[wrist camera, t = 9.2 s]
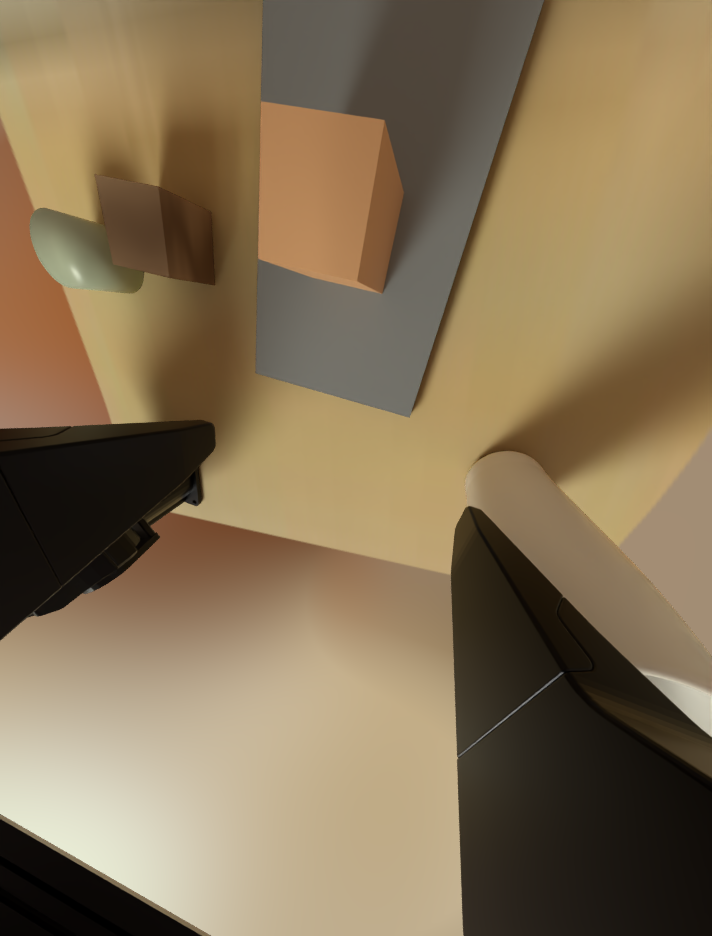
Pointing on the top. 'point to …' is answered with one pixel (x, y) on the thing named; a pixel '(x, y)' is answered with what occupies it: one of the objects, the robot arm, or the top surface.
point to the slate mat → (419, 165)
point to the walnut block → (156, 231)
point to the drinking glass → (594, 577)
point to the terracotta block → (327, 195)
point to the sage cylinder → (79, 253)
